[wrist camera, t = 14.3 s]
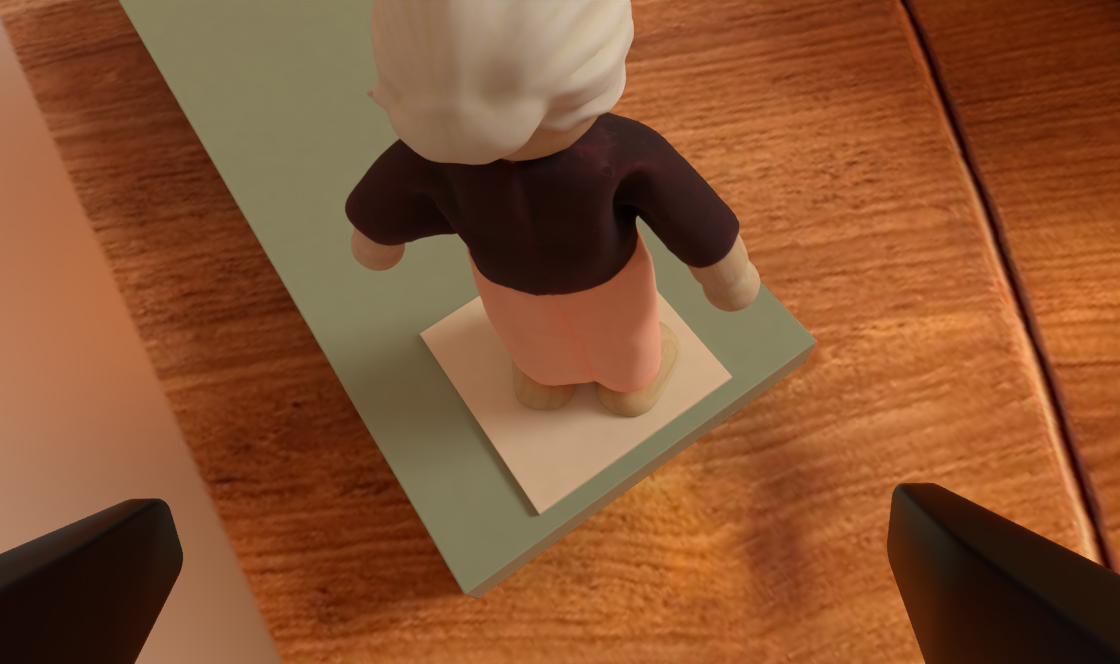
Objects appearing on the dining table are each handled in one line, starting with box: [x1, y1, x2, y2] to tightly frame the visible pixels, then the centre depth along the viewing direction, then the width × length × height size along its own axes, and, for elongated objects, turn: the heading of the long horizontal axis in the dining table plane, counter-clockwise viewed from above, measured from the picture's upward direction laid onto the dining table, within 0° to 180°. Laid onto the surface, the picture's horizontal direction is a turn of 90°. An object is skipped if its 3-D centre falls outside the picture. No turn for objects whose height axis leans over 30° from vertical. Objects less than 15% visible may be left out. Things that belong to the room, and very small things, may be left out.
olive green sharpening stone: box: [118, 0, 817, 599], centre depth 26 cm, size 32×11×4 cm, turn 34°
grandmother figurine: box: [345, 0, 760, 417], centre depth 13 cm, size 8×4×13 cm, turn 93°
